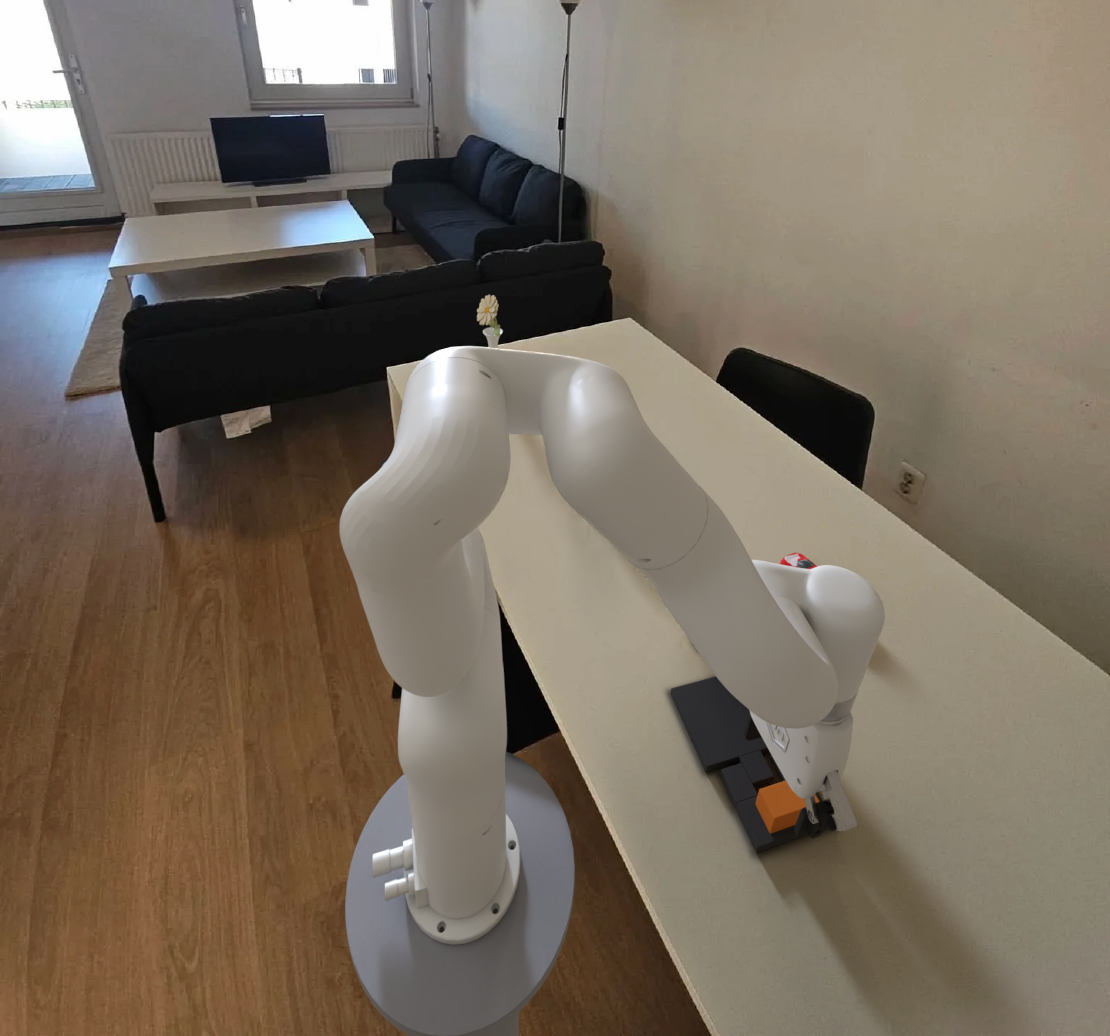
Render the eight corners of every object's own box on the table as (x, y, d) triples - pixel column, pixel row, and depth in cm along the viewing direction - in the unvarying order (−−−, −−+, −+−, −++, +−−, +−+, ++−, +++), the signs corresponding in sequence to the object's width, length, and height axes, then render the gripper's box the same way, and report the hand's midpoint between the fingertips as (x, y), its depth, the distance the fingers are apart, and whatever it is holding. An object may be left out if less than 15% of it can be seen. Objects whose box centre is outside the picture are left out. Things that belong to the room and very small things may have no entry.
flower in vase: (470, 368, 163) (467, 282, 153) (512, 366, 165) (512, 281, 155) (473, 395, 151) (470, 303, 141) (518, 391, 153) (519, 301, 143)
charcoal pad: (717, 800, 72) (718, 794, 71) (670, 694, 83) (671, 688, 83) (804, 771, 75) (806, 765, 74) (746, 673, 86) (748, 667, 86)
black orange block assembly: (756, 853, 67) (762, 832, 65) (719, 775, 74) (724, 754, 73) (832, 825, 70) (839, 804, 68) (789, 752, 77) (795, 731, 75)
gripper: (737, 612, 68) (712, 711, 74) (842, 781, 53) (799, 886, 59) (794, 599, 70) (765, 697, 77) (912, 759, 55) (862, 863, 61)
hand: (780, 779), depth 68 cm, fingers open, 9 cm apart
